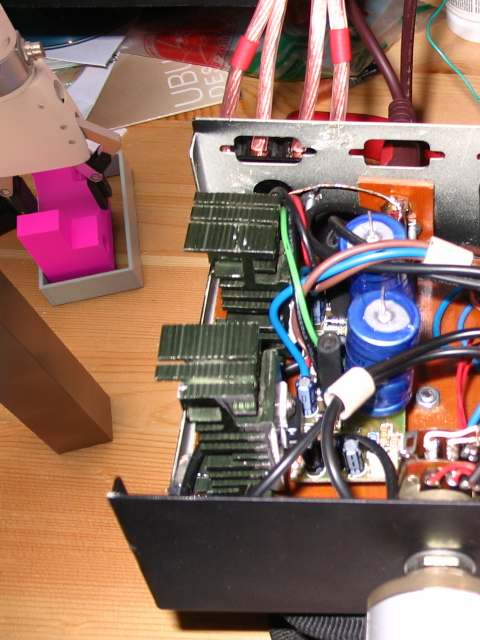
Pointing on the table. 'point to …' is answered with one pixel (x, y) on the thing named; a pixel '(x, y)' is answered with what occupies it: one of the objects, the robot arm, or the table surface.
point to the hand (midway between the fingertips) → (69, 205)
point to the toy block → (67, 227)
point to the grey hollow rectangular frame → (112, 279)
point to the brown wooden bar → (47, 380)
